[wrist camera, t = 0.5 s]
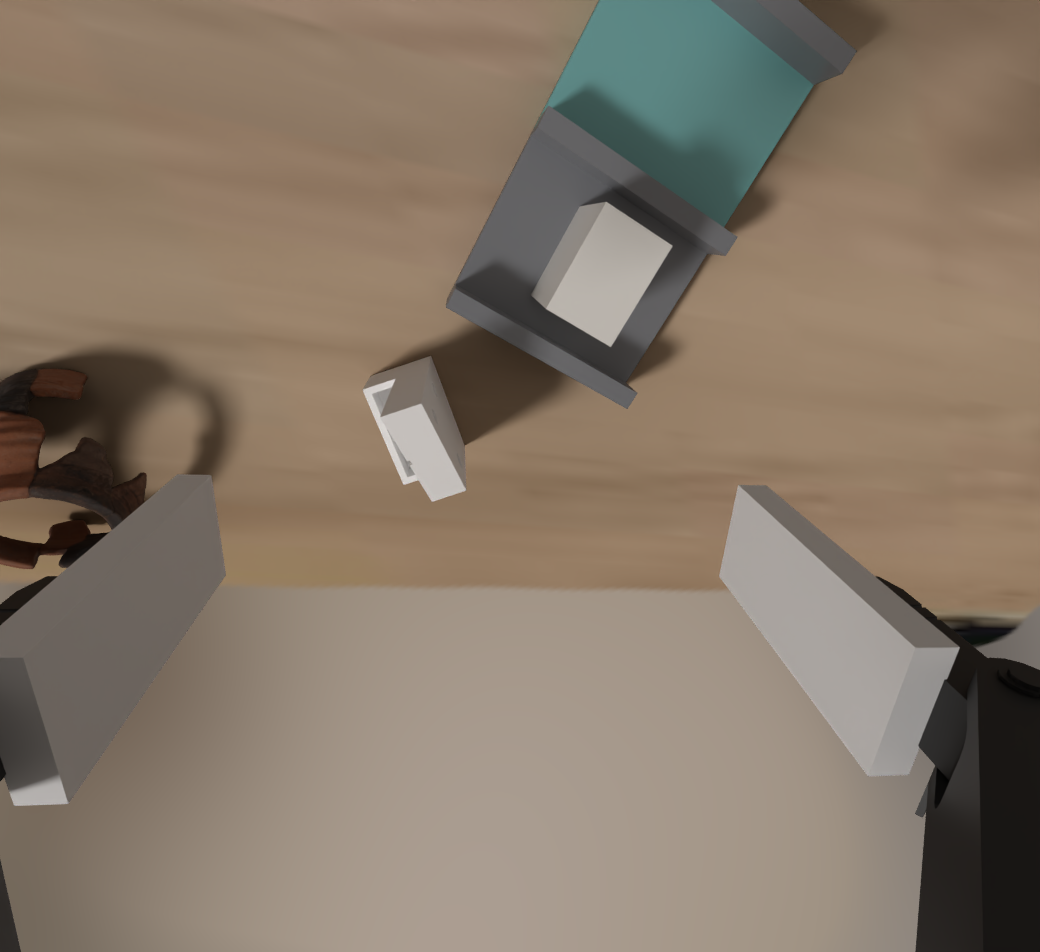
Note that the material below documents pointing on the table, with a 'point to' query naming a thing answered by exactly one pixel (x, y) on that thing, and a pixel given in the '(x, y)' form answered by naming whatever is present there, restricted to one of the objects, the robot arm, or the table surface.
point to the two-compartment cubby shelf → (644, 161)
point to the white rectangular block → (600, 270)
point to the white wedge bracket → (419, 427)
